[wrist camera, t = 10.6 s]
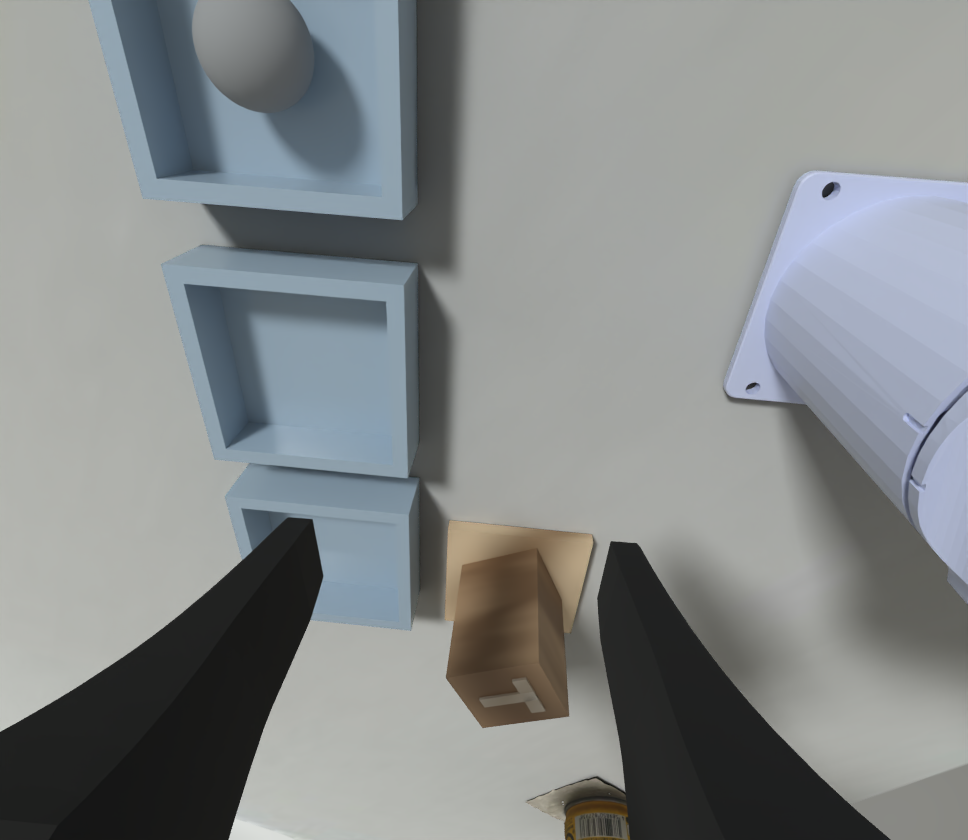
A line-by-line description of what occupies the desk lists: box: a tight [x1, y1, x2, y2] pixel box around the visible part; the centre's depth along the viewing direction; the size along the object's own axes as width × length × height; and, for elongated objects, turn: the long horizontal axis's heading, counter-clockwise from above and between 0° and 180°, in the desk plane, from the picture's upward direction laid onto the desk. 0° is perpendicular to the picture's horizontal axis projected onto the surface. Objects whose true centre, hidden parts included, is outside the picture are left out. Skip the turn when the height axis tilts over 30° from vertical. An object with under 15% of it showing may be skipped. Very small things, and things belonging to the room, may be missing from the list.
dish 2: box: [161, 245, 419, 478], centre depth 20 cm, size 8×8×2 cm
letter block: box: [446, 548, 569, 728], centre depth 24 cm, size 4×4×6 cm
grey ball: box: [192, 0, 314, 113], centre depth 14 cm, size 3×3×3 cm
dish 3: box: [225, 463, 420, 631], centre depth 25 cm, size 8×8×2 cm
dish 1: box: [89, 0, 418, 220], centre depth 15 cm, size 8×8×2 cm
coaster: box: [445, 520, 593, 633], centre depth 27 cm, size 7×7×1 cm
